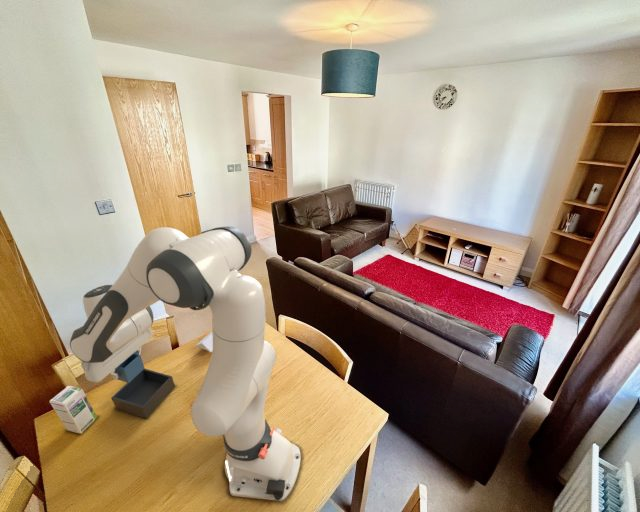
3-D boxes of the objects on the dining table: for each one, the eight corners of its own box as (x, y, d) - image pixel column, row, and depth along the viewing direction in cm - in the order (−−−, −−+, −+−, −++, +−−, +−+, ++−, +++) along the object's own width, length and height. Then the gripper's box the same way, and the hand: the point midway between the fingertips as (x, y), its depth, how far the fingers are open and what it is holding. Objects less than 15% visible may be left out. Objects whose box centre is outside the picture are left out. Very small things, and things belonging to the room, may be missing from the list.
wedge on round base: (212, 358, 117) (232, 338, 128) (209, 346, 114) (230, 327, 125) (196, 351, 120) (217, 333, 131) (193, 339, 117) (215, 322, 128)
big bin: (175, 386, 104) (172, 376, 101) (146, 418, 92) (142, 408, 90) (146, 378, 107) (143, 368, 104) (115, 408, 95) (111, 397, 93)
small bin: (144, 368, 90) (140, 354, 87) (128, 383, 85) (123, 369, 82) (130, 364, 91) (125, 350, 89) (113, 378, 86) (107, 364, 84)
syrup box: (81, 434, 87) (64, 404, 81) (66, 430, 88) (48, 400, 82) (97, 417, 92) (83, 388, 86) (83, 414, 93) (67, 384, 87)
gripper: (88, 363, 71) (104, 398, 77) (151, 316, 89) (160, 347, 95) (70, 357, 73) (87, 392, 79) (135, 312, 91) (145, 343, 97)
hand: (127, 367), depth 87 cm, fingers closed on small bin, 6 cm apart
